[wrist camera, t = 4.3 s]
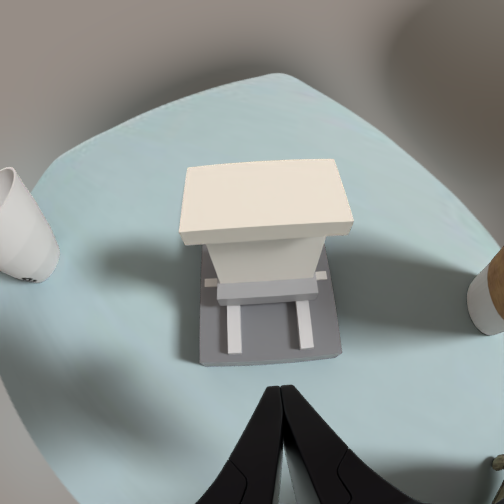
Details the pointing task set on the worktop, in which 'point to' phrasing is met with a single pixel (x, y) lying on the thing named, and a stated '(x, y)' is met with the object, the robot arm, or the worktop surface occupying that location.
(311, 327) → the fader console
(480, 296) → the coffee cup
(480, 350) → the worktop surface
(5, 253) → the cup
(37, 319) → the worktop surface
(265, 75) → the worktop surface
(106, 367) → the worktop surface
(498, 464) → the tabletop clock
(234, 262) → the plate
